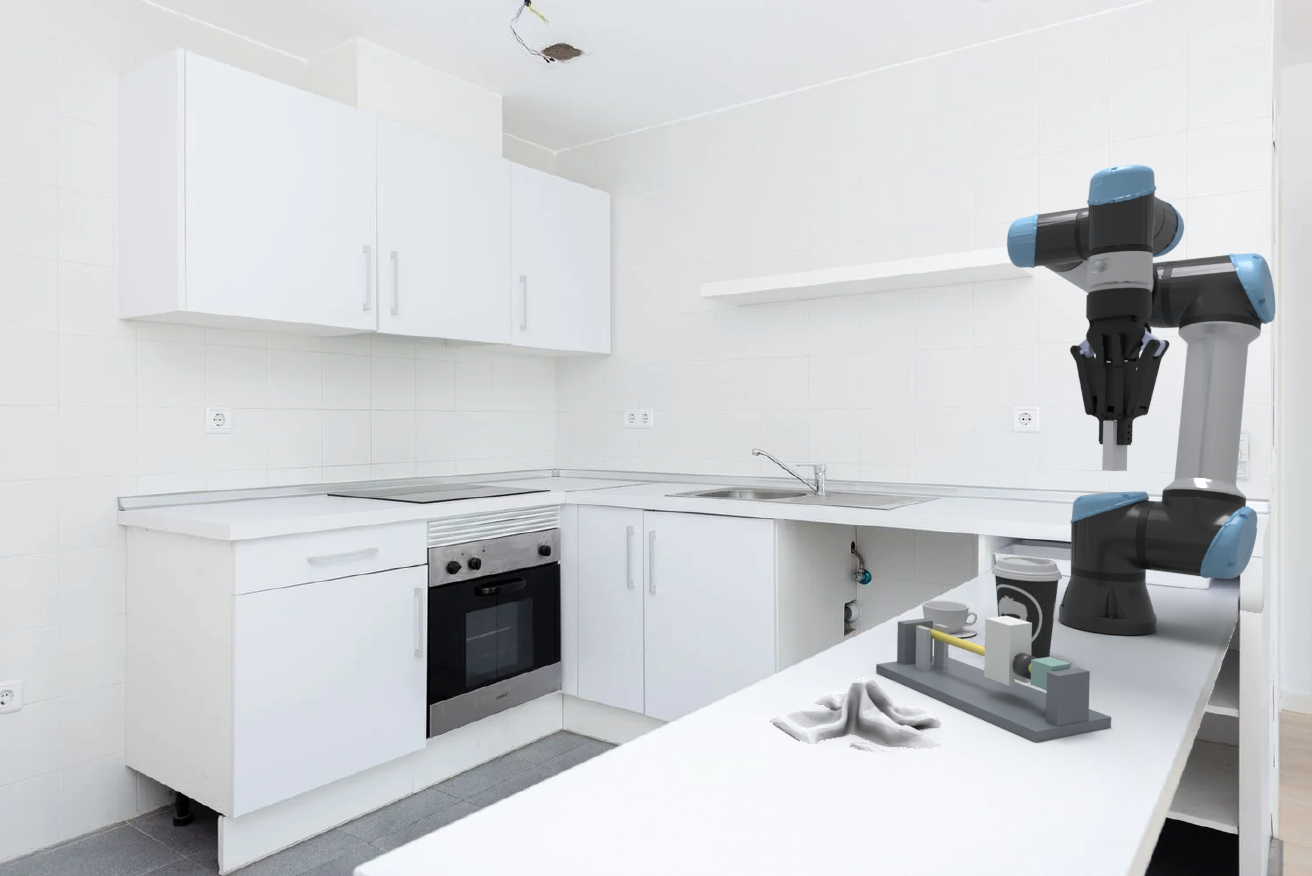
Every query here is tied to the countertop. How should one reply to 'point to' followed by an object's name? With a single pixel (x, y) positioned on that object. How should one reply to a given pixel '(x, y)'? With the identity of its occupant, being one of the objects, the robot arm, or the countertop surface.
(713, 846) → the countertop surface
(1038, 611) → the coffee cup
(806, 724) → the cloth
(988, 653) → the white rectangular block
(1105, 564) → the robot arm
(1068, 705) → the linear slide fixture
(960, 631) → the teacup
